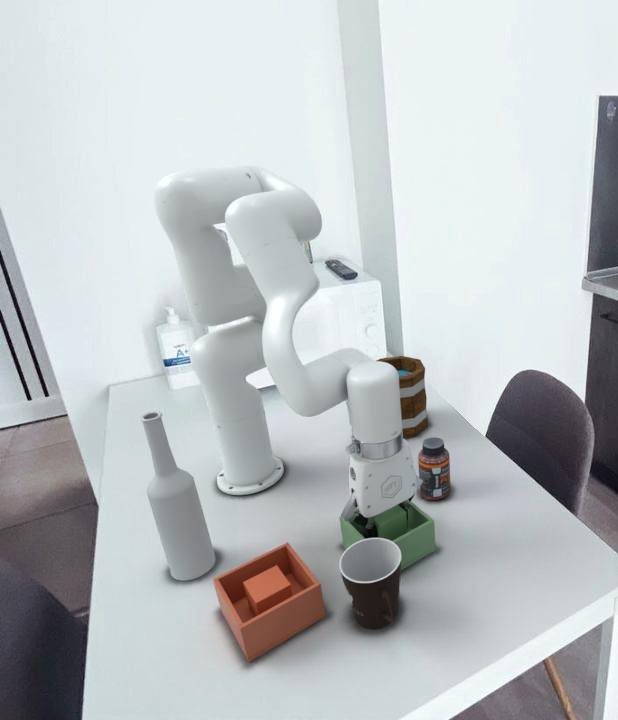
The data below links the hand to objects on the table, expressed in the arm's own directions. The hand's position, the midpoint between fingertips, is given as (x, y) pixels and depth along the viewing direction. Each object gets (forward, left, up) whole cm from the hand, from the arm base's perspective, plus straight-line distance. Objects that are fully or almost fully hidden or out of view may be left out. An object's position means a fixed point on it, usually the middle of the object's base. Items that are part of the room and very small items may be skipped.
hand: (386, 532), depth 91 cm
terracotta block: (0, -20, -3) cm, 20 cm away
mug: (-33, +21, -3) cm, 39 cm away
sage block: (0, 0, 0) cm, 0 cm away
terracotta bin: (0, -20, -3) cm, 20 cm away
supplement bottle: (-7, +15, -4) cm, 17 cm away
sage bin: (0, 0, -3) cm, 3 cm away
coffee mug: (+11, -9, -3) cm, 15 cm away
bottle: (-18, -26, -3) cm, 32 cm away
